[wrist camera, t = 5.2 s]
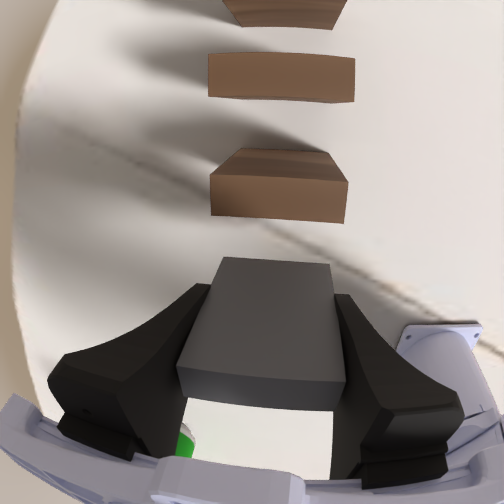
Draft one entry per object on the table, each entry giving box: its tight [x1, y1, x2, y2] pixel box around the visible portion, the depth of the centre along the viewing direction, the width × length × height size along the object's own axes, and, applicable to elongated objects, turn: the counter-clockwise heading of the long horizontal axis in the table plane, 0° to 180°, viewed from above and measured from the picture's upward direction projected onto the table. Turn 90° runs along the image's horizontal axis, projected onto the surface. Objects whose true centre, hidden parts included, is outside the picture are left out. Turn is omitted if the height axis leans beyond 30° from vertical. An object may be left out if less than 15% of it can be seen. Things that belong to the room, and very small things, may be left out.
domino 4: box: [176, 257, 346, 411], centre depth 12 cm, size 2×5×7 cm, turn 89°
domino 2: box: [208, 52, 355, 103], centre depth 12 cm, size 2×5×7 cm, turn 90°
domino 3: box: [210, 148, 348, 224], centre depth 14 cm, size 2×5×7 cm, turn 90°
